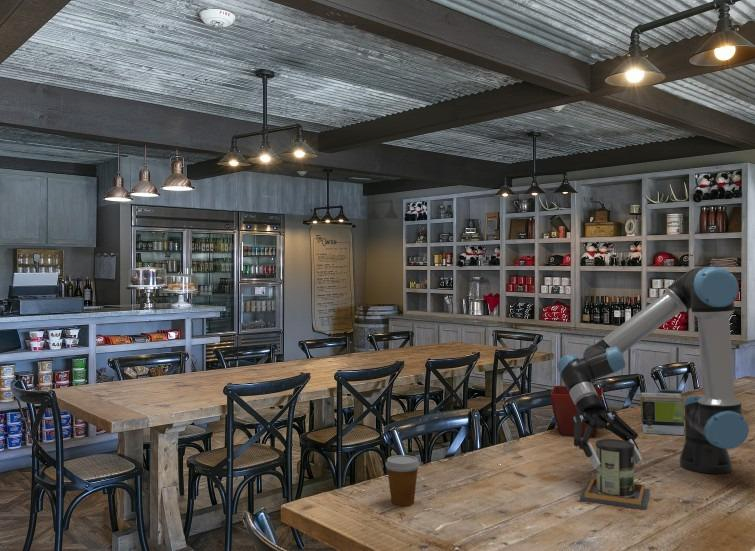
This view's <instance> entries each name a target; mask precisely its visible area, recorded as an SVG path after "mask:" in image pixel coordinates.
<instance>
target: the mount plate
mask: <svg viewBox="0 0 755 551" xmlns="http://www.w3.org/2000/svg"><path fill="white" fill-rule="evenodd" d="M650 490H651V489H650V488H646V484H643V483H636V482H634V491H635V495H634V496H633V497H631V498H625V497H618V496H610V495H603V494H599V493H598V492H597V477H596V478H594V477H592V478H591V480H590V481H587V483H586V485H585V487H584V488H583V491H582V493H581V495H580V496H579V501H580V500H581V502H587V501H589V502H588V503H594V502H596V503H595V504H601V503H602V505H610V506H616V507H623V508H631V509H639V510H647V506H648V502H649V498H650V494H651V492H650Z"/></svg>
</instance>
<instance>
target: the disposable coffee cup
mask: <svg viewBox="0 0 755 551" xmlns="http://www.w3.org/2000/svg"><path fill="white" fill-rule="evenodd" d="M385 467H386V470H387V477H388V486H389V493H390V500H391V504H392V505H395V506H399V507H408V506H411V505H414V503H415V496H416V486H417V478H418V469H419V467H420V462H419V459H418V458H417V457H416V456H414V455H413V456H412V455H405V454H399V455H398V454H397V455H393V456H392V455H391V456H389V457H387V459H386V462H385Z"/></svg>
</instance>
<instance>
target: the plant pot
mask: <svg viewBox="0 0 755 551" xmlns="http://www.w3.org/2000/svg"><path fill="white" fill-rule="evenodd" d="M594 388H595V390H596V392H597V394H598V396H599V398H600V400H601V402H602V401H603V393H604V392H603V391H604V388H603V387H601V386H600V387H596V386H594ZM549 396H550V402H551V407H552V408H551V409H552V411H553V416H554V419H555V423H556V426H557V430H558V432H559V435H560V434H561V435H560V436H567V435H569V436H570V437H574V422H573V418H574V416H575V415H576V414H579V413H578V411H577V408H576V405H575V404H574V402H573V400H572V398H571V396H570V394H569V392H568V390H567V388H566V386H565V385H553V388H552V390H551V392H550V394H549ZM602 403H603V402H602ZM586 426H587V424H586V423H584V422H583V421H582V426H581V437H583V436H584V433H585V429H586ZM597 430H598V429H595V430H594V429H593V428H592V431H591V434H590V437H589V438H595V436H596V434H597Z"/></svg>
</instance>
